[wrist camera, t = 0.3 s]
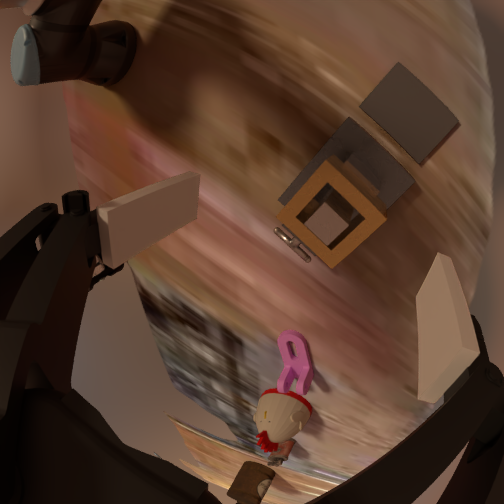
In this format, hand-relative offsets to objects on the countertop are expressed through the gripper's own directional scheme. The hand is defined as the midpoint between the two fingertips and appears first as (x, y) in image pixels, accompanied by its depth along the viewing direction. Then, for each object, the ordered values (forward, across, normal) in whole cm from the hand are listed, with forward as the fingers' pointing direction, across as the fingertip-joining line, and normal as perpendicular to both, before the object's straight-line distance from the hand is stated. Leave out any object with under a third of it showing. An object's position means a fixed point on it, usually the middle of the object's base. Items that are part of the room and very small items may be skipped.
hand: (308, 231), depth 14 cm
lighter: (+28, +9, -82) cm, 87 cm away
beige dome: (+28, +4, -60) cm, 66 cm away
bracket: (+28, +1, -39) cm, 48 cm away
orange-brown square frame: (+19, 0, -4) cm, 19 cm away
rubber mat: (+28, +6, +9) cm, 30 cm away
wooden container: (+28, +8, -123) cm, 126 cm away
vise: (+28, -1, -5) cm, 28 cm away
